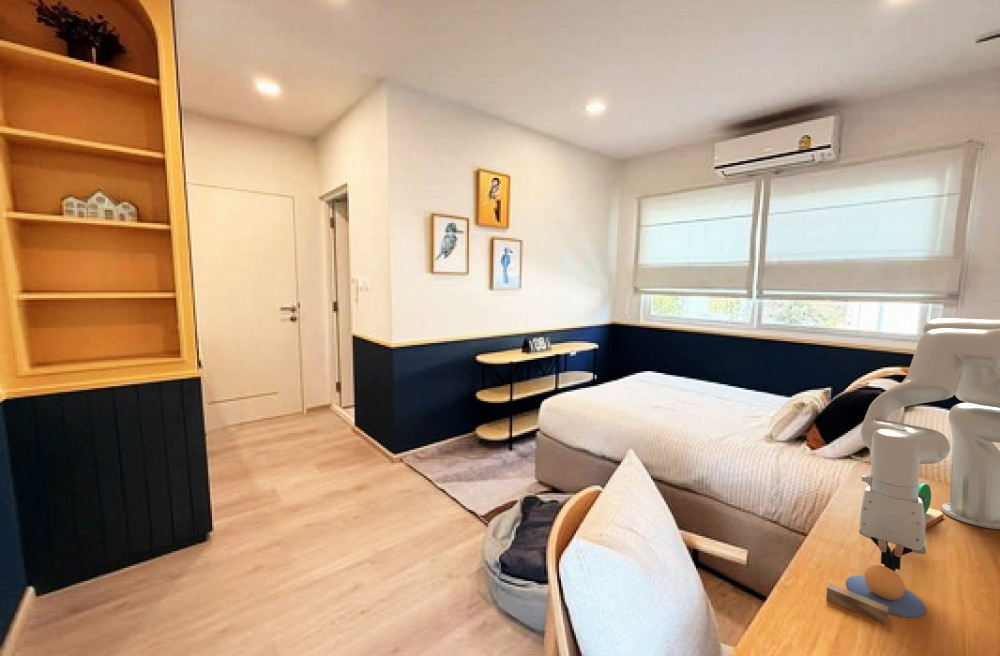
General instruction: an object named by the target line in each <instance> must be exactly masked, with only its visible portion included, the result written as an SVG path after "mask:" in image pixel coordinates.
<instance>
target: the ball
mask: <svg viewBox="0 0 1000 656" xmlns="http://www.w3.org/2000/svg"><path fill="white" fill-rule="evenodd" d="M864 576H865V582H866V584H867V586H868V587H869V589H870V590H871V591H872V592H873V593H874V594H876V595H877V596H879V597H881V598H884V599H887V600H896V599H899V598H900V597H901V596H902V595H903V594H904V590H905V589H906V588H905V584H904V581H903V580H902V578H901V576H899V574H898V573H897V572H896V571H895V572H894V571H893V570H891V569H889V568H887V567H885V565H872V566H870V567H868V568H866V570H865V572H864Z"/></svg>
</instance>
